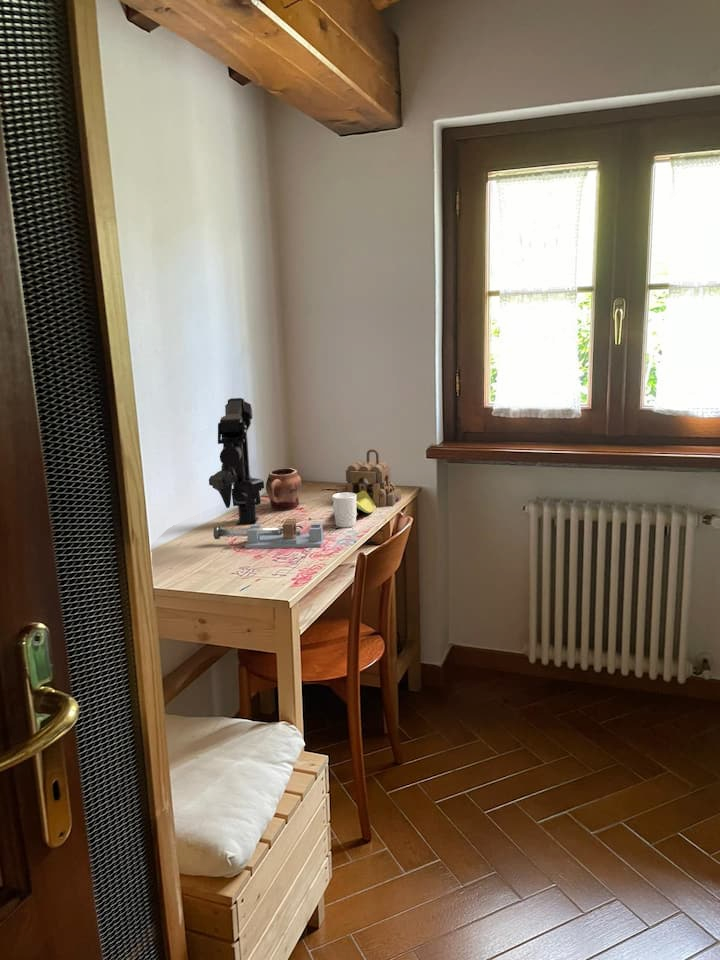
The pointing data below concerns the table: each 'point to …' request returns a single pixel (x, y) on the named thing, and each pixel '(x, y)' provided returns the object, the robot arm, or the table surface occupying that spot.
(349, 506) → the white cup
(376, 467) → the tan backpack
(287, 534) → the frame
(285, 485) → the decorative planter
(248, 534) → the rail
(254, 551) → the table surface
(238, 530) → the shaft
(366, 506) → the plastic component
